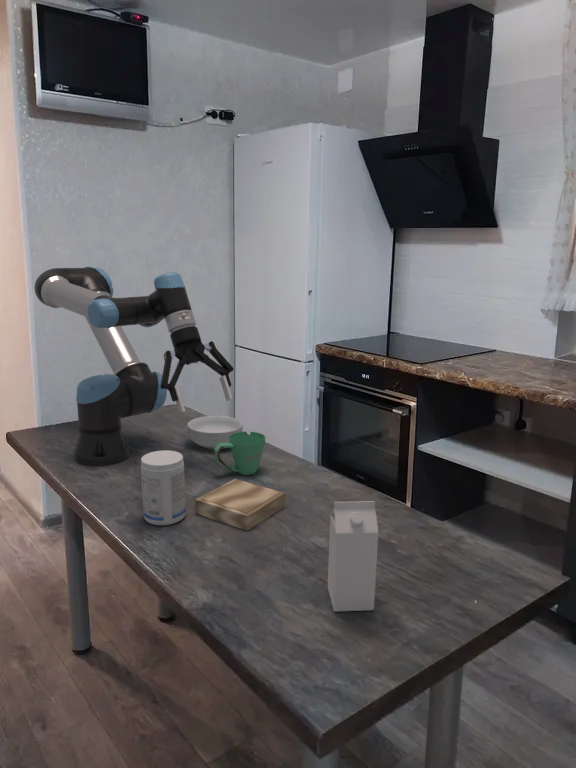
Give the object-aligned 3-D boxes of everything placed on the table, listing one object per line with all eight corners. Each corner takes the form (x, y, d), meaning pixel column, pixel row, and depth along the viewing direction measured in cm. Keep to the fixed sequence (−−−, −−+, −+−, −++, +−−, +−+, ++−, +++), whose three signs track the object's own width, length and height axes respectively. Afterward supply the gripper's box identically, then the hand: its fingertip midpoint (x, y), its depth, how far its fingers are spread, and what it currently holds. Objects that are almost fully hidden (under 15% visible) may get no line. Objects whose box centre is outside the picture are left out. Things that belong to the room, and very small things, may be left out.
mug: (253, 462, 172) (254, 429, 170) (271, 474, 164) (272, 439, 162) (207, 472, 164) (206, 437, 162) (223, 484, 156) (223, 448, 154)
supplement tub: (179, 505, 144) (178, 447, 140) (191, 522, 136) (189, 461, 132) (138, 512, 140) (136, 453, 136) (148, 530, 132) (145, 467, 128)
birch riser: (195, 513, 140) (195, 499, 139) (234, 491, 152) (234, 478, 151) (247, 530, 132) (247, 515, 131) (284, 506, 144) (284, 492, 144)
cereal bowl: (177, 449, 181) (176, 427, 180) (203, 433, 197) (203, 413, 195) (228, 457, 176) (228, 434, 174) (251, 440, 191) (251, 419, 189)
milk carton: (327, 589, 111) (331, 493, 106) (365, 588, 111) (370, 492, 107) (333, 612, 104) (337, 511, 99) (373, 611, 104) (379, 510, 100)
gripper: (141, 334, 150) (165, 415, 149) (229, 317, 163) (253, 391, 161) (134, 342, 157) (158, 420, 155) (220, 325, 169) (242, 397, 167)
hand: (206, 406), depth 158 cm, fingers open, 13 cm apart
